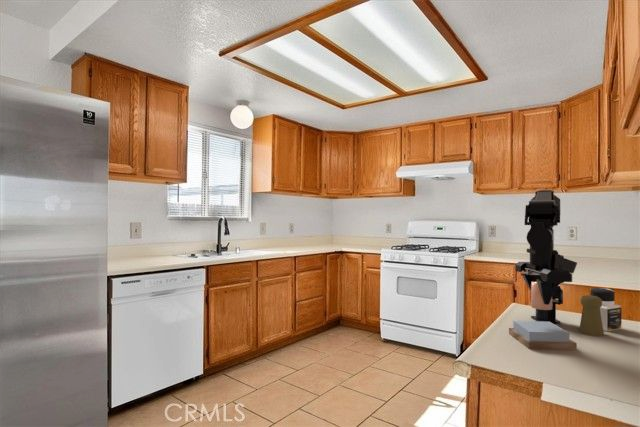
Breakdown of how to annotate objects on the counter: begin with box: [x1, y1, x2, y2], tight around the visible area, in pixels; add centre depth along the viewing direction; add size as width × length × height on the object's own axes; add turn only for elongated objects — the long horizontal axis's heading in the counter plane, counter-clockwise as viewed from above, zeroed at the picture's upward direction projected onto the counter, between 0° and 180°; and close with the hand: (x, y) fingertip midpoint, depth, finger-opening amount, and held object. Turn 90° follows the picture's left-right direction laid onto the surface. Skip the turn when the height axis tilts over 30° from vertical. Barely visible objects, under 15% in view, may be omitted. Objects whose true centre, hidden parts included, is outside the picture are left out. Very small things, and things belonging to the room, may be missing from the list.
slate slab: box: [512, 320, 570, 342], centre depth 103 cm, size 10×10×2 cm
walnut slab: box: [508, 327, 578, 351], centre depth 103 cm, size 12×12×2 cm
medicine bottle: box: [589, 287, 623, 332], centre depth 116 cm, size 7×7×12 cm
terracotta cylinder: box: [530, 281, 552, 310], centre depth 103 cm, size 5×5×7 cm
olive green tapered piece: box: [578, 294, 605, 337], centre depth 111 cm, size 6×6×11 cm
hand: (541, 302), depth 103 cm, fingers closed on terracotta cylinder, 5 cm apart
